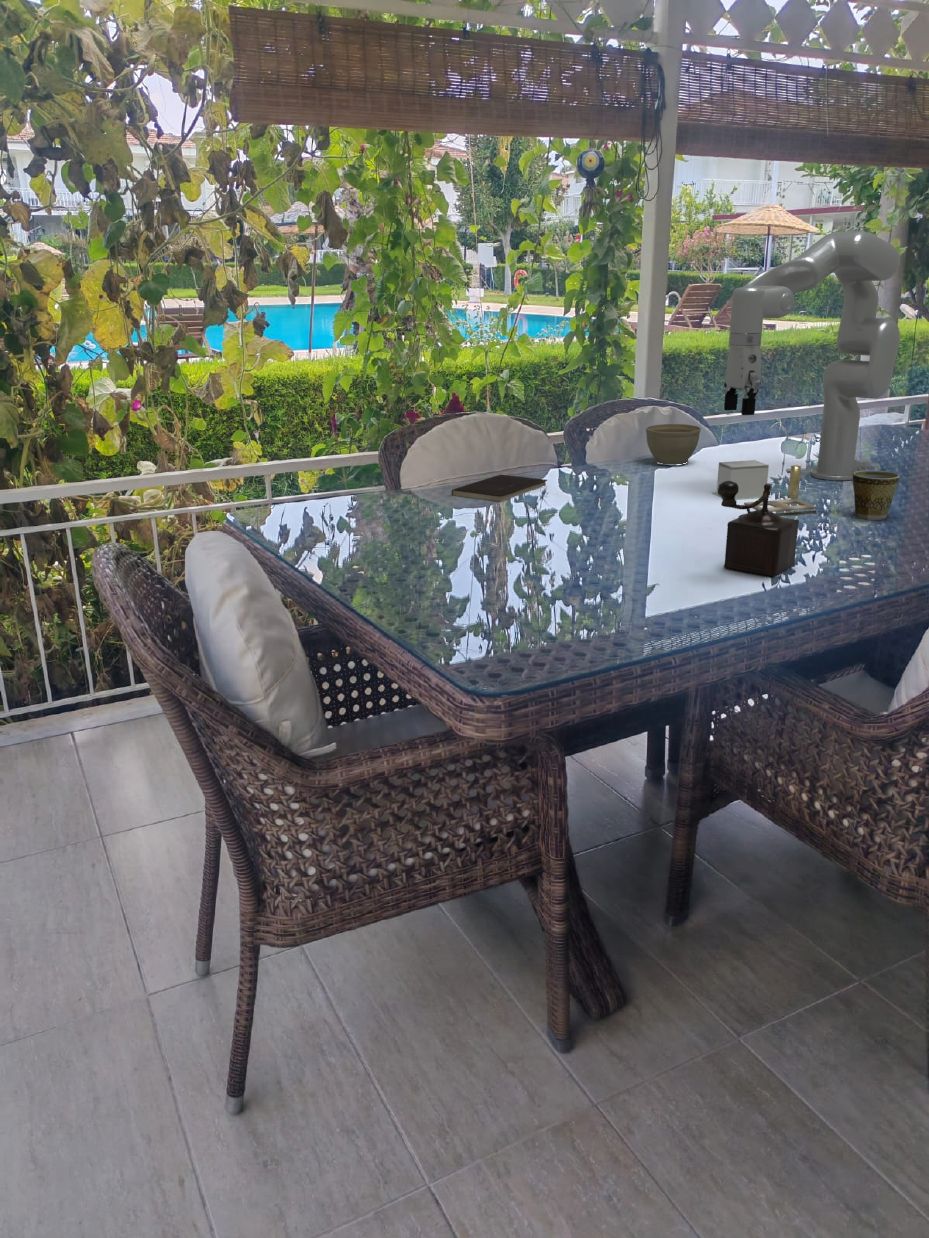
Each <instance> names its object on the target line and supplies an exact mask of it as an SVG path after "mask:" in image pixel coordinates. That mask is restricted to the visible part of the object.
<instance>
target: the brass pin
mask: <svg viewBox="0 0 929 1238" xmlns="http://www.w3.org/2000/svg"><path fill="white" fill-rule="evenodd" d="M801 471H802V466H801V465H793V464H792V465H790V473H789V483H788V494H787V499H788V498H789V499H798V498H799V494H800V493H799V492H800V481H801V473H802V472H801Z"/></svg>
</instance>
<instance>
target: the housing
mask: <svg viewBox="0 0 929 1238" xmlns="http://www.w3.org/2000/svg"><path fill="white" fill-rule="evenodd" d="M769 466H770V465H769V464H766V463H764V462H762V461H759V460H755V459H753V460H739V461H738V460H735V461H722V462H720V461H719V462H718V470H717V481H716V482H717V483H716V493H717V494H718V487H719V484H721V483H723V482H725V481H732V482H735V483H737V484H738V486H739V492H738V493H737V494H736V496H735V499H740V498H754V497H761V496H762V495H763V491H764V485H765V484H768V477H769V468H770V467H769Z"/></svg>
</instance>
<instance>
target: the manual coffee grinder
mask: <svg viewBox="0 0 929 1238" xmlns="http://www.w3.org/2000/svg"><path fill="white" fill-rule="evenodd" d="M771 489H772V487H771V484H769V483H767V484H765V485H764V491H763V495H762V496H761V497H760V498H757V499H756V501H752V502H753V503H751V504H747V505H744V504H738V502H737V501H738V500H735V496H736V494H737V493H738V492H739V486H738V484H737V483H735V482H732V481H725V482H723V483H721V484H719V487H718V494H719V495H720V496H721V497H720V498H721V500H722V501H721V507H725V508H729V509H730V508H731V509H737V510H746V512H747V513H743V514H740V515H739V516H737V518H734V519H732V520H729V521H728V522H727V525H726V526H727V529H726V541H725V555H724V564H723V568H725V569H728V570H732V571H735V572H740V573H745V574H750V575H755V576H760V577H766V578H775V577H778V576H780V575H781V574H783V573H785V572H786V570H787V569H788V568H789V569H791V568H793V567H794V566H795V564H796V562H795V561H796V551H797V541H798V532H799V524H800V520H799V519H794V518H789V517H784V516H778V515H777V514H775V513H776V512H771V511H768V509H767V508H769V505H768V501H769V499H770V498H769V496H770V497H771ZM762 502H763V506H761V507H762V509H759V510H755V509H754V510H751V509H753V507H755V506H757V505H759V504H760V503H762ZM793 565H794V566H793ZM789 569H788V570H789ZM788 570H787V571H788ZM782 572H783V573H782ZM777 575H778V576H777Z"/></svg>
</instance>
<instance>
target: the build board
mask: <svg viewBox="0 0 929 1238" xmlns="http://www.w3.org/2000/svg"><path fill="white" fill-rule="evenodd" d="M753 502H754V501H751V502H750V501H747V502H744V503H743V505H747V504H751V503H753ZM789 504H790V505H789ZM791 504H797V505H791ZM768 506H770V507H768V508H767V509H768V511H771V512H773V513H775V514H777V515H778V516H780V517H787V516H789V517H790V516H799V515H814V514H817V506H816V505H813V504H811V503H808V502H805V501H803V500H800V499H798V498H789V499H788V498H787V499H776V500H775V499H774V500H768ZM762 507H763V502H762V503H760V504H759V505H757V506H755V507H753V508H752V509H753V510H754V511H755V510H759V509H762ZM804 510H805V511H804ZM776 512H777V513H776Z"/></svg>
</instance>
